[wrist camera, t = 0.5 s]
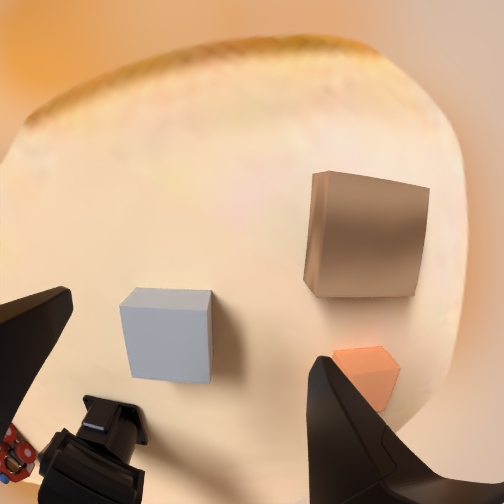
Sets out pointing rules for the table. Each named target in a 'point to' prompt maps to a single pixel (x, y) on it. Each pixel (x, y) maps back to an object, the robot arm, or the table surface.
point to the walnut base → (364, 236)
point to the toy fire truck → (15, 458)
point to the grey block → (169, 334)
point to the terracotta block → (369, 373)
